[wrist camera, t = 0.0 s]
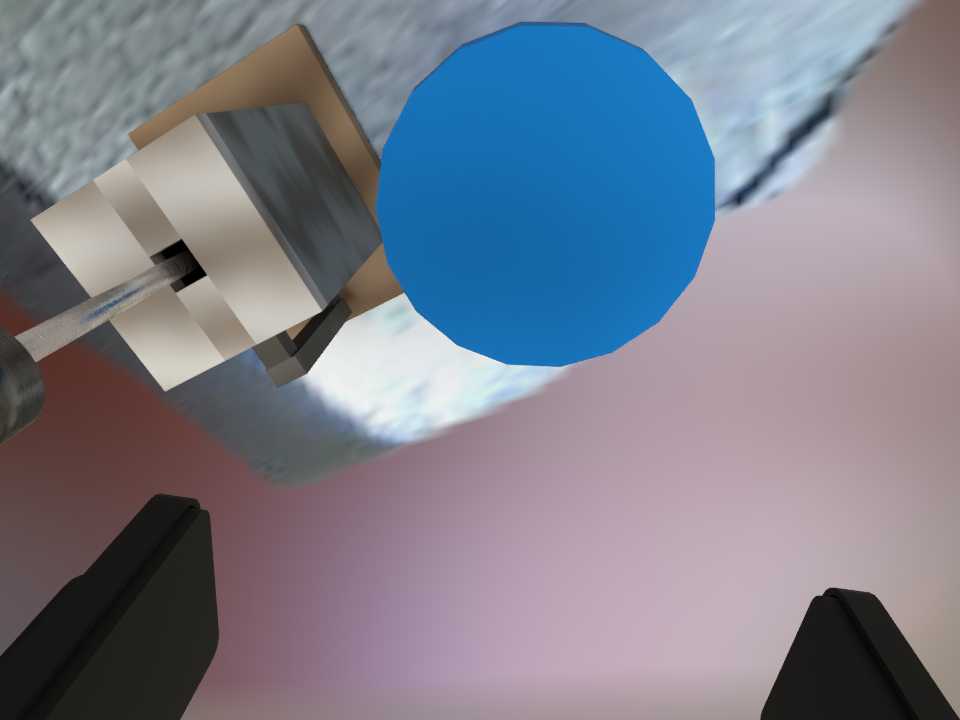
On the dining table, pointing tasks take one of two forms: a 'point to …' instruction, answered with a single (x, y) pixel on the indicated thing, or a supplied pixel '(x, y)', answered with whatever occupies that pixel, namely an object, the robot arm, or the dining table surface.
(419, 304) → the thermos
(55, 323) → the grey rod with knob
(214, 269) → the stand
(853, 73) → the dining table surface
